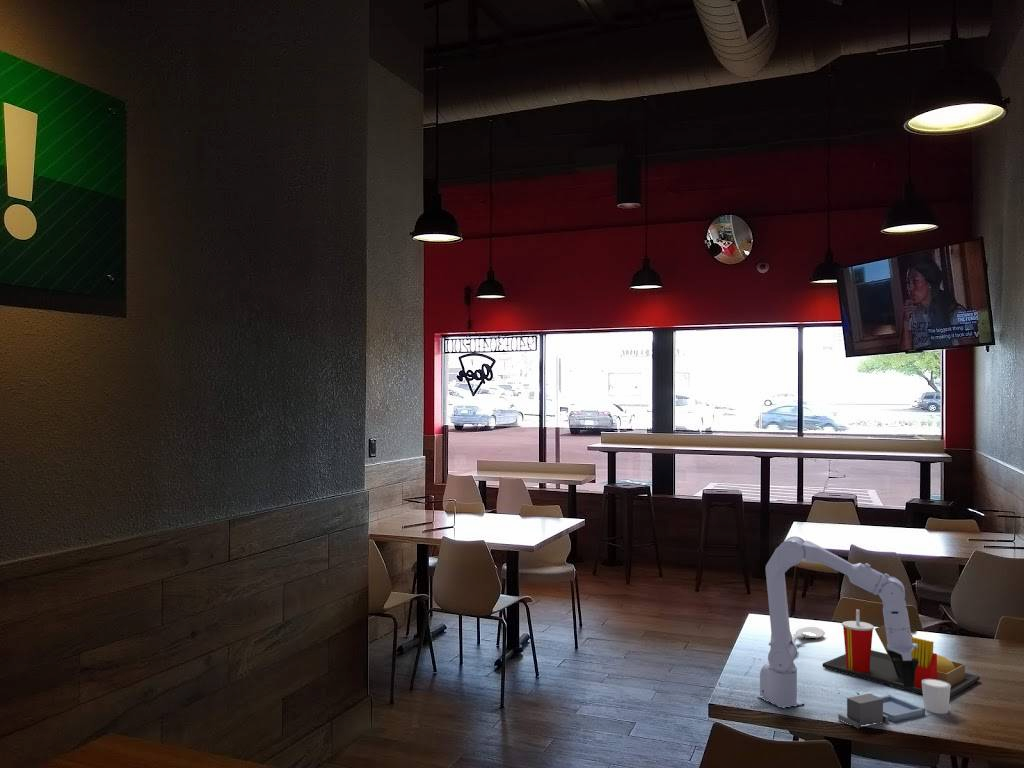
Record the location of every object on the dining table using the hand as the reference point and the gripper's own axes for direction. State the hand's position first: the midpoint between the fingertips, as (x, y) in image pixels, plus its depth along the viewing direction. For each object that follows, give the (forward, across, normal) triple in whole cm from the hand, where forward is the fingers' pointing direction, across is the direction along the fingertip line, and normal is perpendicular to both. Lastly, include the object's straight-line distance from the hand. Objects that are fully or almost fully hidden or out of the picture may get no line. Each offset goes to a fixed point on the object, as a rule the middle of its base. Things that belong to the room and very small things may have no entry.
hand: (905, 682), depth 197 cm
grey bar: (+9, -2, +11) cm, 14 cm away
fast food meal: (+11, +40, -5) cm, 42 cm away
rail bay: (+9, -1, +11) cm, 15 cm away
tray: (+10, +8, +3) cm, 13 cm away
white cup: (+11, +13, -8) cm, 19 cm away
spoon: (+6, +65, +21) cm, 68 cm away
